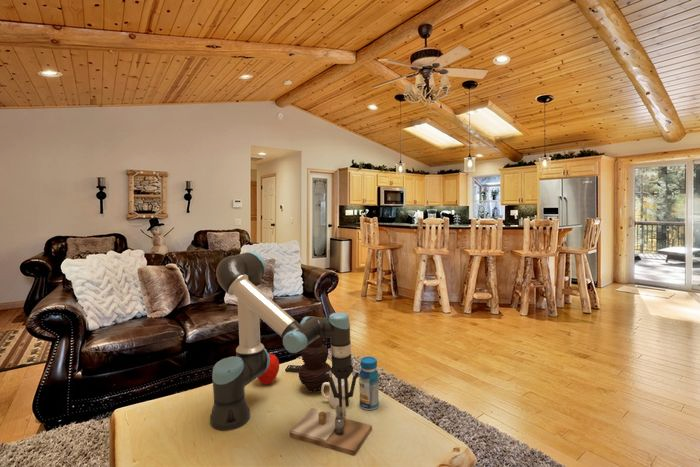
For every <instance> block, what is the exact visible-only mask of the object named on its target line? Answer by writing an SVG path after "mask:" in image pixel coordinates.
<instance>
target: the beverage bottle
mask: <svg viewBox="0 0 700 467" xmlns="http://www.w3.org/2000/svg"><path fill="white" fill-rule="evenodd" d="M377 367H378V360H377V358H376V357H374V356H364V357H362V358H360V368H361V370H360V371H359V376H358V377H359V378H358V384H359V385H358V386H359V406H360V407H361V409H363V410H366V411H372V410H376V409H377V408H379V407H380V399H379V398H380V396H379V388H380V387H379V385H380V379H379V375H380V374H379V372H378V370H377Z"/></svg>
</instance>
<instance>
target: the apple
mask: <svg viewBox="0 0 700 467" xmlns="http://www.w3.org/2000/svg"><path fill="white" fill-rule="evenodd" d="M269 356H270V365H269V367H268V369H267V370H266V371H265V372H264V373H263V374H262V375H261V376H260V377H258V378H257V380H258V381H259V382H260V383H261V384H263V385H269V384H272V383H273V382H274V381H275V379H276V378H277V376H278V373H279V371H280V362H279V359H278V357H277V356H276V355H275V354H272V353H269Z"/></svg>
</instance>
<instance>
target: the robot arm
mask: <svg viewBox="0 0 700 467" xmlns="http://www.w3.org/2000/svg"><path fill="white" fill-rule="evenodd" d="M266 272H267V264H266V260H265V259H264V257H262V256H261V254H259V253H258V252H254V251H253V252H252V251H251V252H250V251H249V252H248V251H247V252H243V253H238V254H235V255H229V256H226V257H223V259H221V261H220V262H219V263H218V264H217V266H216V271H215V274H216V275H215V276H216V279H217V283H218V284H219V285H220V287H221V289H223V290H224V291H225V292H226V293H227V294H228V295H229V296H234V297H236V299H237V301H236V302H237V320H238V338H239V339H238V340H239V342H238V343H239V345H238V346H237V347H236V349H235V353H236V354H235V355H236V356H228V357H224V358H222V359H220V360H219V361H217V362H216V363H215V365H213V368H212V377H211V380H212V388H213V389H212V390H213V392H212V393H213V406H212V410H211V414H210V415H209V416H210V417H209V424H210V426H211V427H212V428H213V429H215V430H217V431H218V430H219V431H229V430H234V429H239V428H240V427H241V426H243V425H244V426H245V424H246V423H247V422H248V421H249V420H250V418H251V410H250V407H249V405H248V402H247V400H246V396H245V393H246V392H245V387H246V386H247V385H249V384H250V383H252V382H253V381H255V380H256V379H258V377H260V376H261V375H262V374H263V373H264V372H265V371H266V370H267V369H268V367H269V365H270V356H269V354H270V353H269V352H267V351H268V350H267V349H266V348H265V345H264V344H263V343H261V330H260V328H261V326H260V319H261V321H263V322H264V323H265V324H266V325H267V326H268V327H270V328H271V329H272V331H274V332H275V333H276V334H277V335H279V337H281V338H282V345H283V347H284V349H285V350H286V352H288V353H290V354H297V353H298V352H300V351H302V350H303V349H304V348H305V347H306V346H308V345H309V344H310V343H312V342H313V341H315V340H316V339H318V338H323V339H330V354H331V356H330V357H331V370H330V371H329V372H328V371H327V372H326V377H327V379H328V380H329V383H330V386H331V389H332V392H333V395H334V398H338V399H339V406H340V407H342V412H343V416H345V417H346V416H347V407H349V405H350V398H352V397H353V395H354V392H355V388H356V382H357V379H358V377H359V373H360V371H359V370H358V369H357V370H356V369H354V367H353V364H352V362H353V360H352V343H351V324H350V322H351V321H350V316H349V314H347V313H346V312H343V311H342V312H332V313H331V314H329V317H321V316H320V317H318V316H304V317H303V318H302V319H301V321H300V323H299V322H298V321H297V320H295V319H294V317H292V316H291V315H289V313H288V312H286V311H285V310H283V308H282V307H281V306H279V305H278V304H277V303H275V301H274V300H272V299H271V298H270V297H269V296H268V295H267V294H265V293H264V292H263V291H262V290H261V289H260V287H261V285H262V278H263V276H264V275H265V274H266ZM351 375H352V380H351V384H350V388H349V393H348V380H349V377H350V376H351ZM333 377H336V378H337V380H338V393H337V390H336V387H335V384H334V381H333ZM341 379H344V387H345V396H342V384H341ZM348 398H349V400H348Z"/></svg>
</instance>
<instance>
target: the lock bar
mask: <svg viewBox="0 0 700 467" xmlns="http://www.w3.org/2000/svg"><path fill="white" fill-rule="evenodd" d="M335 414H336V418H335V433H336V434H337V435H342V434H344V418H343V412H342V407H340V406H339V405H337V408H336V413H335Z"/></svg>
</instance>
